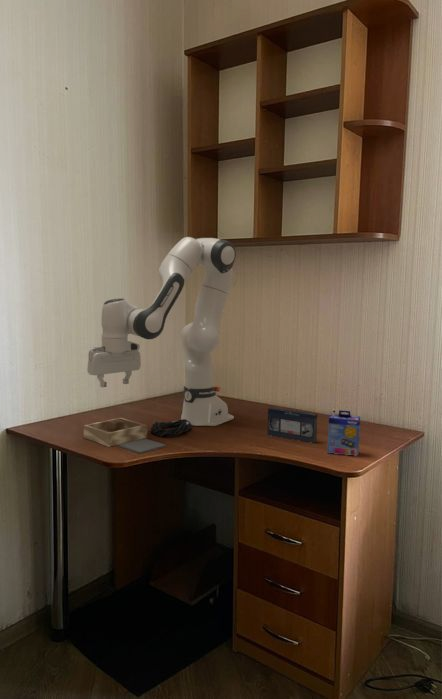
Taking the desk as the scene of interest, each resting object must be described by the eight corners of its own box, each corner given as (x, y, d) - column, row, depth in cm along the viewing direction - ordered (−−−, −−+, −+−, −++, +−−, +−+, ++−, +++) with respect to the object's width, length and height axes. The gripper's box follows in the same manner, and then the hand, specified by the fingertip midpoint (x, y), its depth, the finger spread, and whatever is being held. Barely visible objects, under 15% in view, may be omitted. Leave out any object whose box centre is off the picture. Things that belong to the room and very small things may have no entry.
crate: (121, 429, 203) (121, 417, 202) (146, 437, 193) (146, 425, 192) (83, 437, 191) (83, 425, 191) (109, 446, 181) (109, 433, 180)
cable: (179, 440, 191) (179, 428, 190) (142, 437, 195) (142, 425, 194) (194, 428, 207) (194, 417, 207) (160, 425, 211) (160, 414, 211)
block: (116, 435, 195) (116, 419, 194) (124, 437, 192) (124, 421, 191) (106, 437, 192) (106, 421, 191) (114, 440, 189) (113, 423, 188)
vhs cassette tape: (266, 435, 198) (267, 408, 197) (271, 433, 200) (271, 407, 199) (313, 444, 188) (314, 415, 186) (316, 442, 190) (317, 414, 189)
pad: (144, 440, 189) (144, 438, 189) (165, 446, 182) (165, 444, 182) (118, 446, 181) (118, 444, 181) (139, 453, 174) (139, 451, 174)
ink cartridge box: (326, 454, 176) (328, 410, 175) (328, 449, 182) (330, 406, 180) (358, 457, 174) (360, 412, 172) (359, 452, 179) (360, 408, 177)
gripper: (94, 348, 178) (94, 390, 180) (143, 344, 193) (143, 383, 195) (83, 347, 183) (83, 387, 184) (132, 343, 198) (132, 381, 199)
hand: (114, 385), depth 190 cm, fingers open, 8 cm apart
